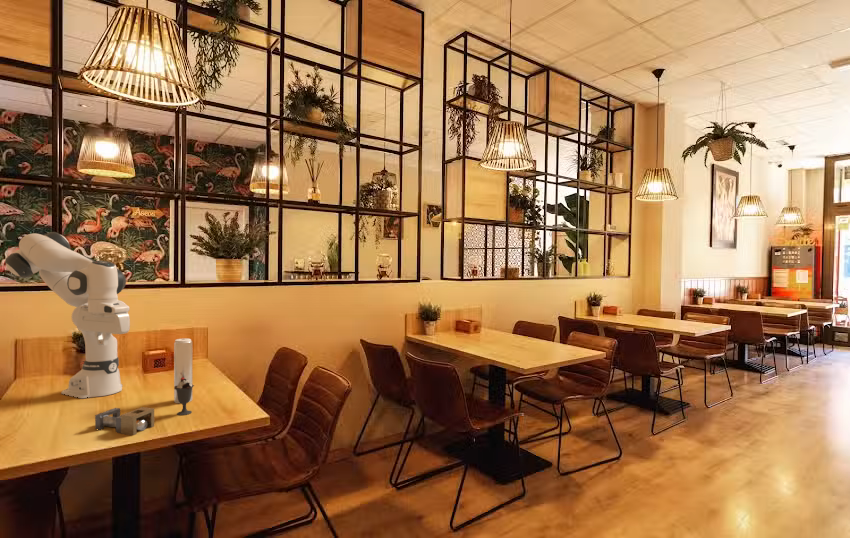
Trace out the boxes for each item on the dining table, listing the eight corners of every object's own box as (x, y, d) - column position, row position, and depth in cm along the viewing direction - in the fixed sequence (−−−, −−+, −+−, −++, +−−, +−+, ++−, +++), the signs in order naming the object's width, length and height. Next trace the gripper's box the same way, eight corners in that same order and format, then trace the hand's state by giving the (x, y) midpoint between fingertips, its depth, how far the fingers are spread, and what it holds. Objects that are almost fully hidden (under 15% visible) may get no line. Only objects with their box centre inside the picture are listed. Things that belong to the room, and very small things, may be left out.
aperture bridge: (120, 433, 152) (120, 415, 152) (142, 424, 160) (142, 407, 160) (133, 435, 151) (133, 416, 151) (154, 426, 159) (154, 408, 159)
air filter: (184, 404, 183) (184, 341, 182) (170, 402, 184) (170, 340, 183) (196, 399, 189) (196, 338, 188) (182, 397, 190) (182, 337, 190)
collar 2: (115, 432, 153) (115, 417, 153) (135, 424, 160) (135, 410, 160) (120, 433, 152) (120, 418, 152) (140, 425, 160) (140, 410, 160)
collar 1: (95, 429, 155) (95, 415, 155) (115, 422, 162) (115, 407, 162) (100, 430, 154) (100, 415, 154) (120, 422, 162) (120, 408, 162)
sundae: (178, 410, 175) (178, 371, 175) (197, 410, 176) (197, 371, 175) (170, 416, 169) (170, 375, 168) (189, 416, 169) (189, 375, 169)
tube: (95, 426, 158) (96, 416, 158) (104, 424, 161) (105, 414, 161) (138, 431, 153) (139, 421, 154) (146, 429, 156) (148, 419, 157)
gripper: (71, 305, 166) (71, 343, 166) (117, 309, 161) (117, 348, 161) (88, 303, 172) (88, 340, 172) (133, 307, 167) (132, 345, 167)
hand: (102, 344), depth 167 cm, fingers closed
